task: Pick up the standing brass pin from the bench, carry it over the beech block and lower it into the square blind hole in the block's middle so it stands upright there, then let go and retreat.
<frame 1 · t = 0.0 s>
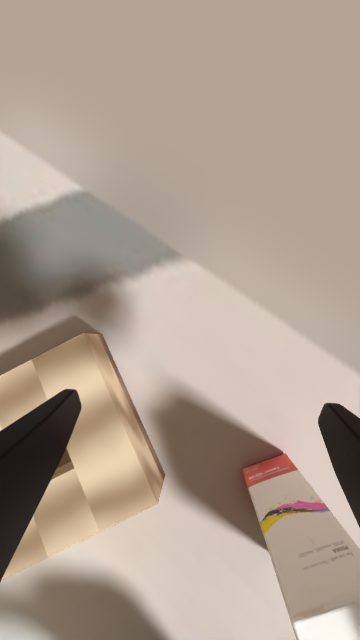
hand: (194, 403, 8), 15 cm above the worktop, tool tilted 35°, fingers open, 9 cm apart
ink cartridge box: (278, 502, 21), on the worktop
bore block: (66, 434, 23), on the worktop
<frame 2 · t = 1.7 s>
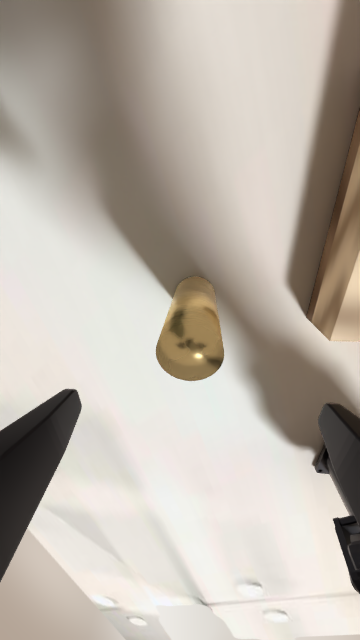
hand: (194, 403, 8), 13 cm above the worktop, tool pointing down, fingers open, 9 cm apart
pin: (194, 296, 19), on the worktop
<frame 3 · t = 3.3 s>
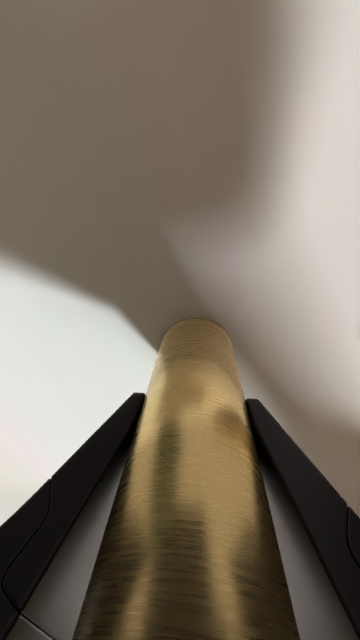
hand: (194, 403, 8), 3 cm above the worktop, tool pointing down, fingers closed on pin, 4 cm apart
pin: (196, 349, 11), on the worktop, touching gripper
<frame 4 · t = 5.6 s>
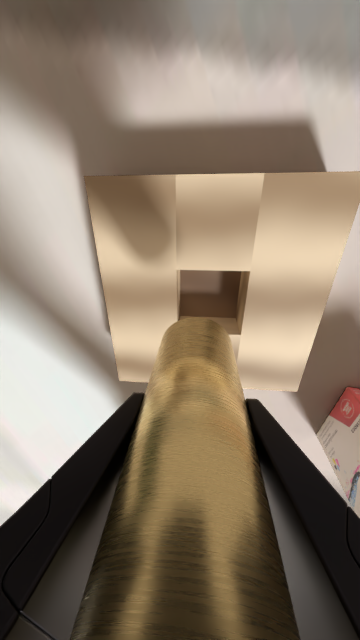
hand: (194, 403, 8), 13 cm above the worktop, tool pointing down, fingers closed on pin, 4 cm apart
ink cartridge box: (347, 413, 25), on the worktop
bore block: (208, 287, 19), on the worktop
pin: (195, 348, 11), point 10 cm above the worktop, touching gripper
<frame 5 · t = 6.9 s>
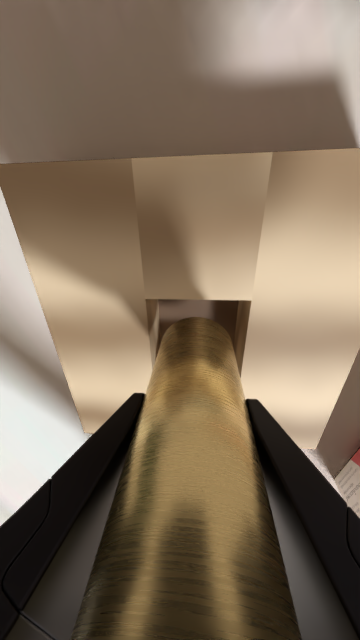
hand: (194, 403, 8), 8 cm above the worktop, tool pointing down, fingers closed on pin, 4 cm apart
bore block: (197, 312, 15), on the worktop
pin: (196, 348, 11), point 4 cm above the worktop, touching gripper
when the fingers open (5 cm above the worktop, at t = 7.8 s): pin drops 1 cm, resting on bore block.
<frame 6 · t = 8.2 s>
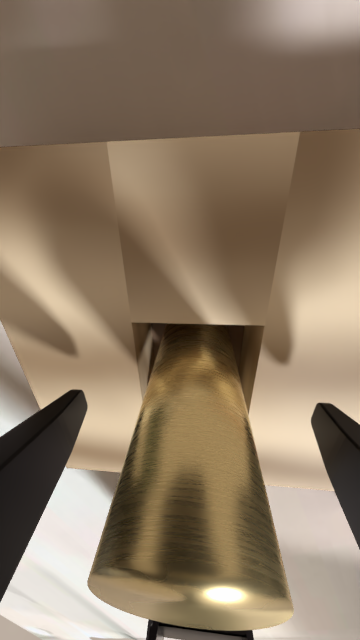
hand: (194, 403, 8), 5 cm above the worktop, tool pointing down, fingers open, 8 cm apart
bore block: (197, 329, 13), on the worktop
pin: (196, 337, 12), point 1 cm above the worktop, touching bore block
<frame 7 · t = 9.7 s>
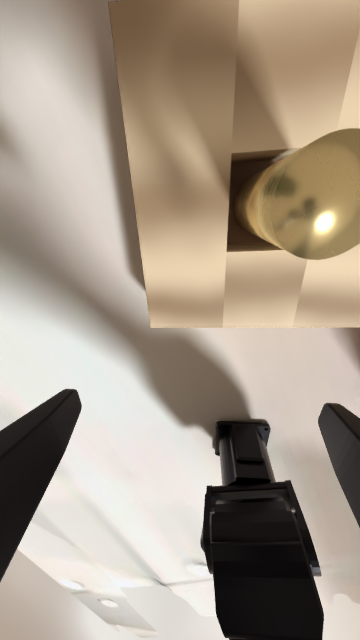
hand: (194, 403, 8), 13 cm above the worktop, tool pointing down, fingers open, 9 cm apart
bore block: (256, 205, 16), on the worktop
pin: (260, 204, 15), point 1 cm above the worktop, touching bore block
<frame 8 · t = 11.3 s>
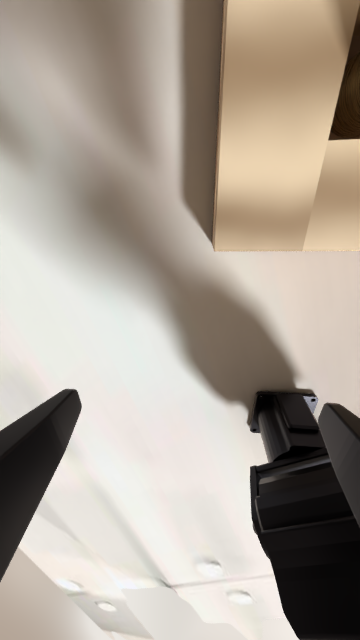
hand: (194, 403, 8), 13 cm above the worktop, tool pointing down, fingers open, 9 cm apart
bore block: (348, 106, 13), on the worktop
pin: (358, 98, 12), point 1 cm above the worktop, touching bore block
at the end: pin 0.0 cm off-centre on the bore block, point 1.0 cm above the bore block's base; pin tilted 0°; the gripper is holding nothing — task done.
